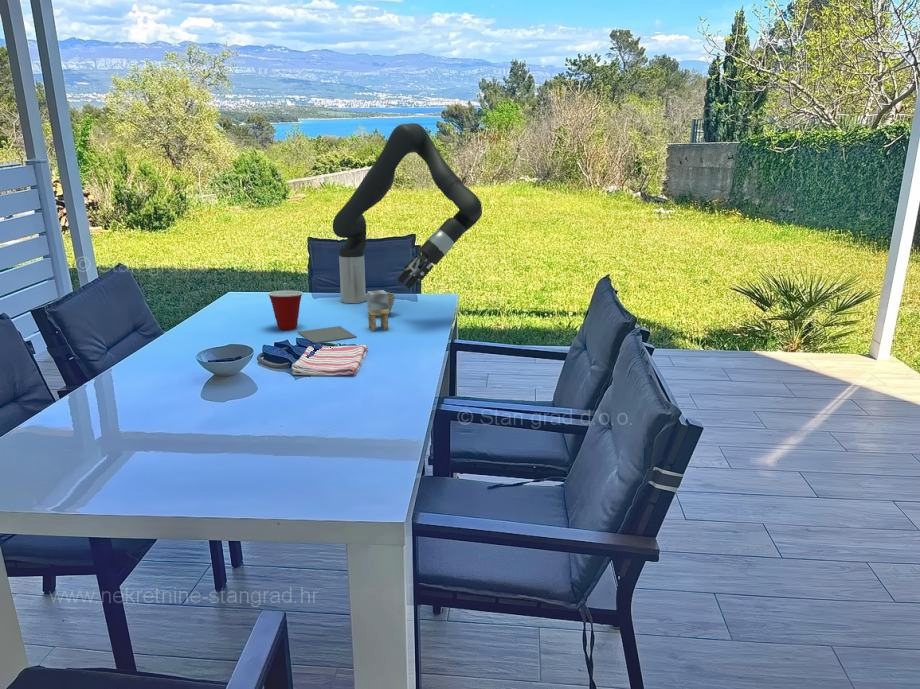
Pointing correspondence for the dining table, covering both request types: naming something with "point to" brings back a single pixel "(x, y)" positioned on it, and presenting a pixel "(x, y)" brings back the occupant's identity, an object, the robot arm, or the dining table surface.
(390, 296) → the flower pot
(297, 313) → the plastic cup
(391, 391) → the dining table surface
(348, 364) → the dish towel
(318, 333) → the mat
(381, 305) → the stool
